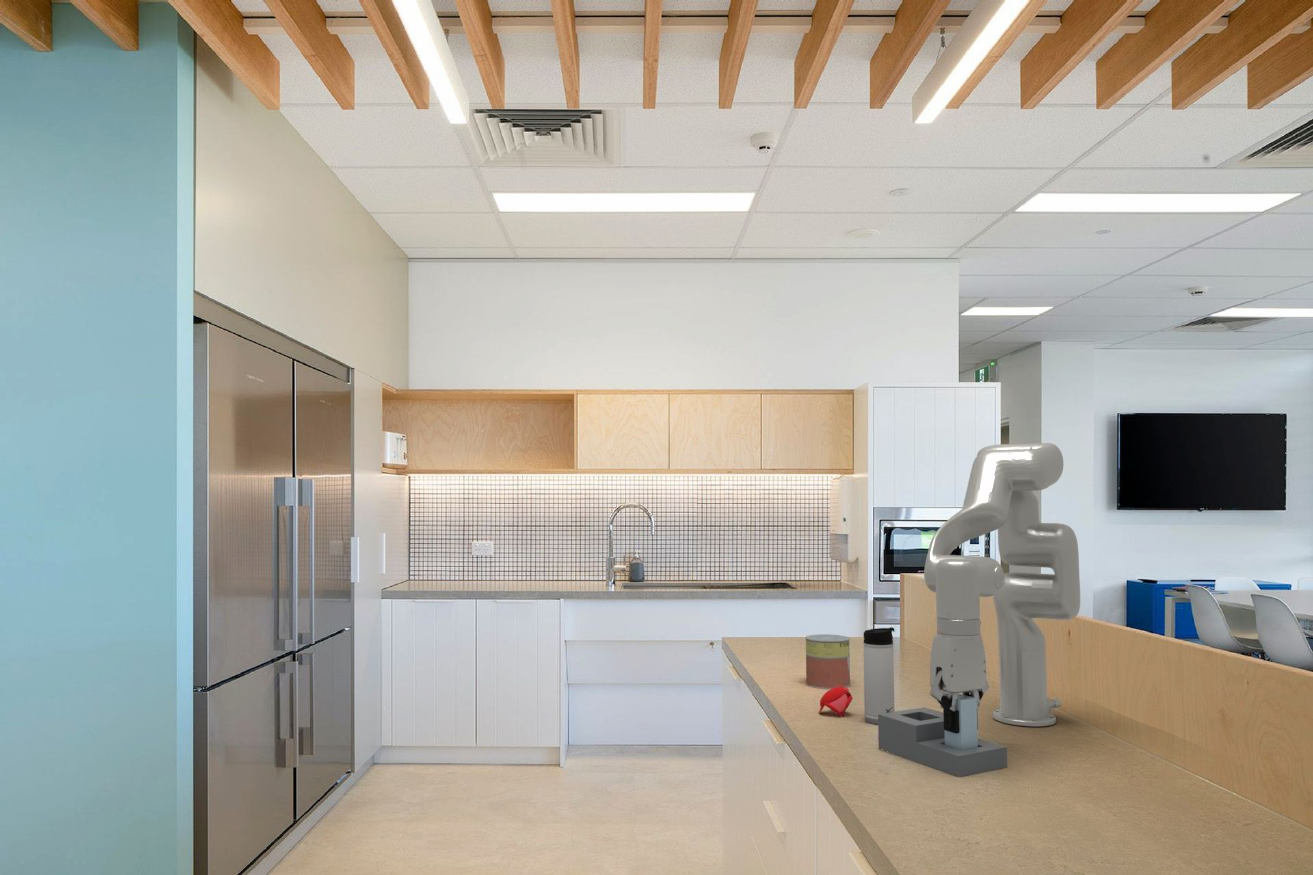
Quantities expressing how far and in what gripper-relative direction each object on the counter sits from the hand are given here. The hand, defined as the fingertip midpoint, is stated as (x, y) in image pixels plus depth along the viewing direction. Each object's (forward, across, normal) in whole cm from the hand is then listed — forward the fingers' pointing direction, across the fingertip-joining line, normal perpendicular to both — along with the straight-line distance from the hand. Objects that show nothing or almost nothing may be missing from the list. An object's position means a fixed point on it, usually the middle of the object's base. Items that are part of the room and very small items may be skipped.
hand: (960, 729), depth 163 cm
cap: (+7, -5, -41) cm, 42 cm away
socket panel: (+6, 0, -5) cm, 8 cm away
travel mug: (+6, -9, -31) cm, 33 cm away
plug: (+4, 0, 0) cm, 4 cm away
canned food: (+7, -24, -67) cm, 71 cm away
